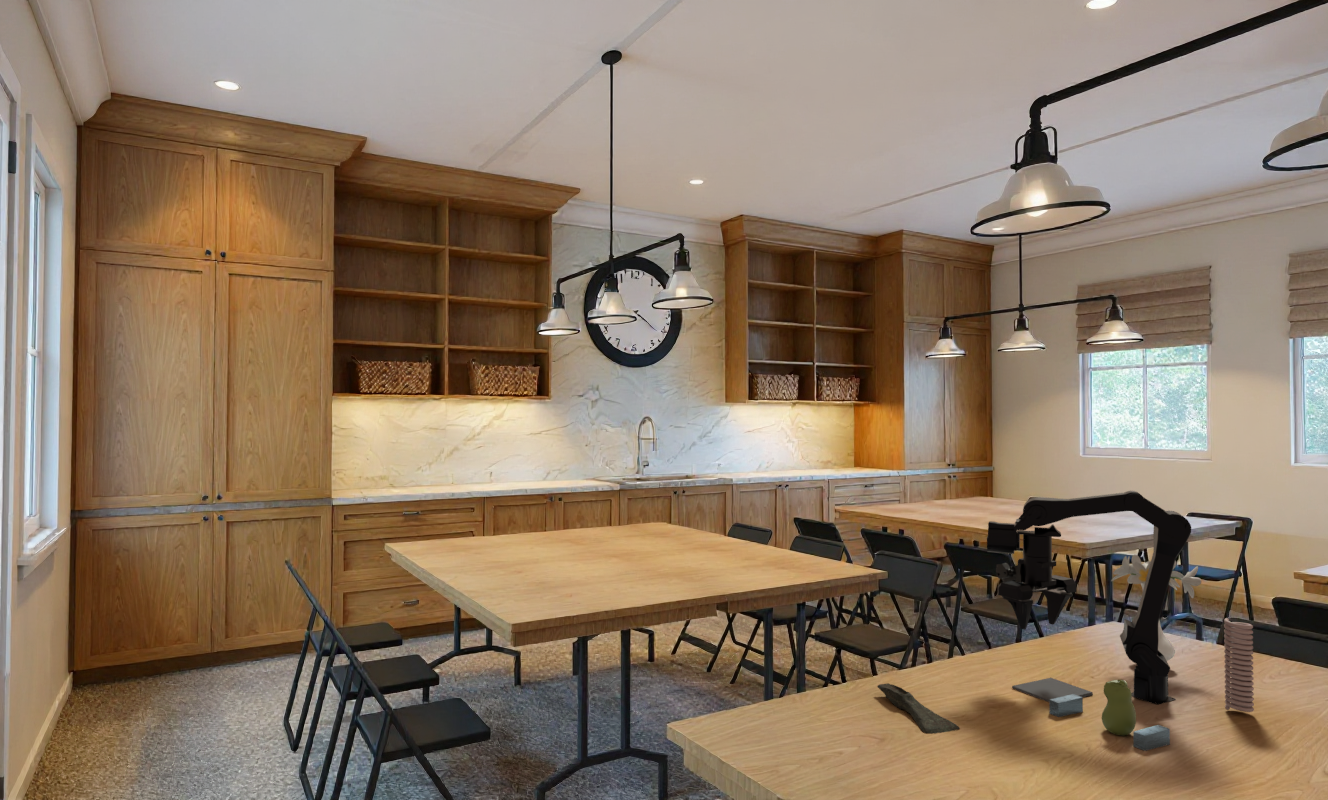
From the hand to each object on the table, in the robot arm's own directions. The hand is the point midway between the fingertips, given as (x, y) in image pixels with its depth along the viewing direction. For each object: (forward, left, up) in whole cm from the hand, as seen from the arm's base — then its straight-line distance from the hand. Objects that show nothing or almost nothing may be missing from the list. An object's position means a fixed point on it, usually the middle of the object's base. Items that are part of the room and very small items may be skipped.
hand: (1037, 626), depth 173 cm
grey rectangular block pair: (+11, +24, -12) cm, 29 cm away
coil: (-21, +29, -12) cm, 38 cm away
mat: (+3, +6, -12) cm, 14 cm away
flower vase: (-36, +3, -12) cm, 38 cm away
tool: (+35, +2, -13) cm, 38 cm away
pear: (+11, +26, -12) cm, 31 cm away
